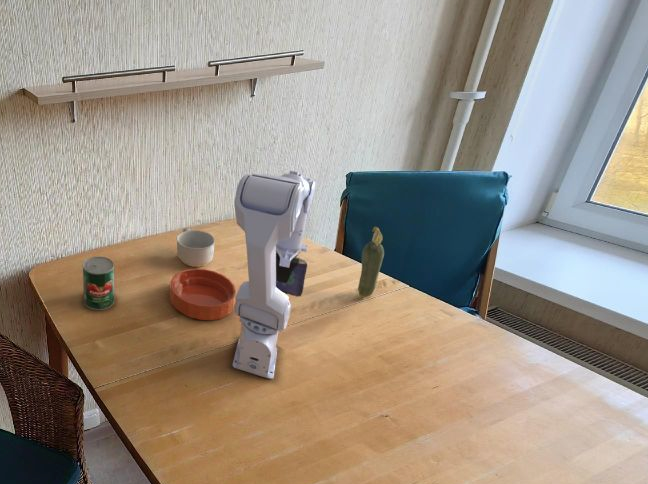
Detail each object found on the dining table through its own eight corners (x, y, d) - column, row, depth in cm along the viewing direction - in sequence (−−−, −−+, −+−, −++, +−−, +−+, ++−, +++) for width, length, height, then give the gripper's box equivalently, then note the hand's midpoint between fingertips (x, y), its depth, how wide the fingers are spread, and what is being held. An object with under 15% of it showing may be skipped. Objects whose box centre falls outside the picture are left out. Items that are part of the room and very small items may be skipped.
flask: (259, 288, 102) (265, 249, 99) (261, 281, 105) (266, 243, 101) (301, 298, 99) (309, 258, 95) (302, 291, 101) (309, 252, 97)
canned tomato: (103, 288, 116) (102, 253, 112) (120, 303, 109) (120, 266, 105) (78, 298, 112) (76, 262, 108) (94, 314, 105) (93, 277, 101)
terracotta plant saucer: (227, 329, 100) (229, 313, 98) (161, 310, 106) (162, 295, 105) (238, 291, 113) (240, 277, 111) (179, 277, 120) (180, 263, 118)
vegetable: (374, 304, 107) (393, 234, 99) (355, 302, 107) (372, 232, 100) (368, 294, 111) (385, 225, 103) (349, 292, 111) (365, 224, 104)
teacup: (216, 271, 122) (218, 247, 119) (178, 272, 122) (180, 247, 119) (205, 246, 135) (207, 224, 132) (171, 247, 135) (172, 224, 132)
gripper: (309, 245, 88) (299, 299, 93) (311, 216, 100) (302, 266, 105) (272, 238, 91) (265, 291, 96) (279, 211, 103) (272, 259, 108)
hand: (282, 277), depth 101 cm, fingers closed on flask, 3 cm apart
